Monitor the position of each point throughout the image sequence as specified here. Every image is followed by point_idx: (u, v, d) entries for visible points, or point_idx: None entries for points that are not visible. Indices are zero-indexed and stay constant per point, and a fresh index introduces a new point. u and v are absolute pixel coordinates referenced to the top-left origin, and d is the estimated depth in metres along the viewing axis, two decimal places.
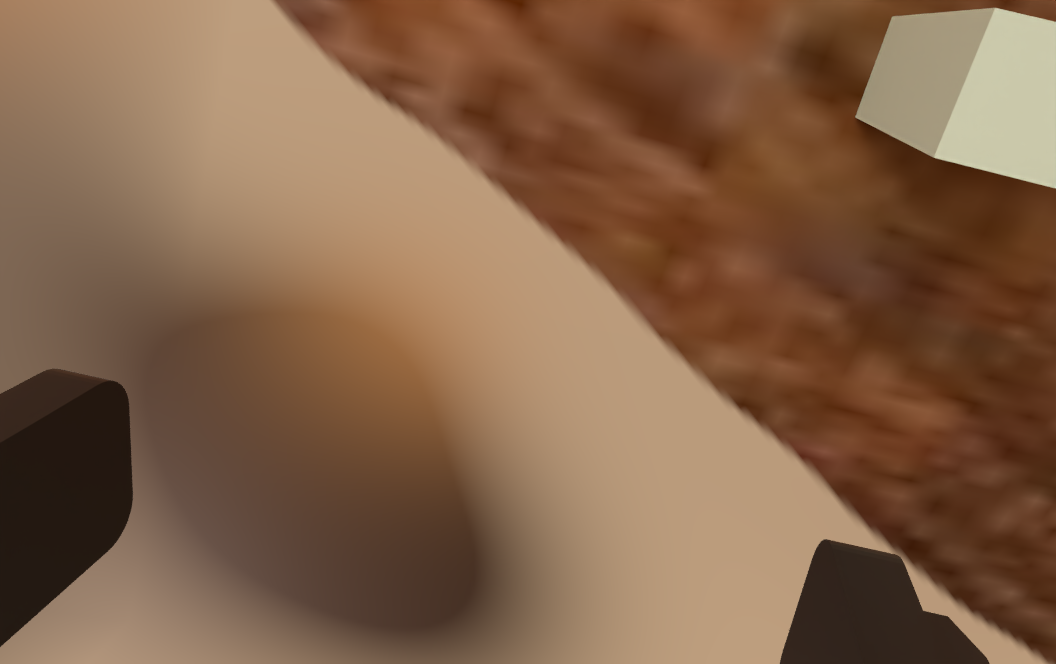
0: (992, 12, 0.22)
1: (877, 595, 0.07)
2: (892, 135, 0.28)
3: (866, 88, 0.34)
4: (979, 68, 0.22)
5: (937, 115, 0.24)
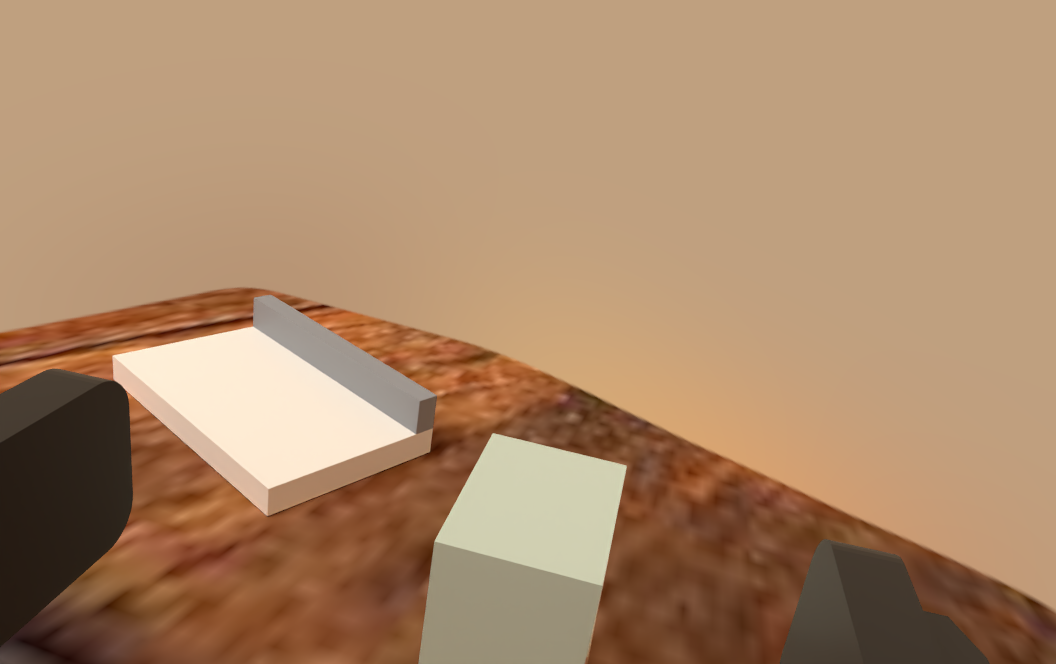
0: (439, 544, 0.19)
1: (877, 595, 0.07)
2: None
3: None
4: (499, 552, 0.19)
5: (548, 613, 0.19)
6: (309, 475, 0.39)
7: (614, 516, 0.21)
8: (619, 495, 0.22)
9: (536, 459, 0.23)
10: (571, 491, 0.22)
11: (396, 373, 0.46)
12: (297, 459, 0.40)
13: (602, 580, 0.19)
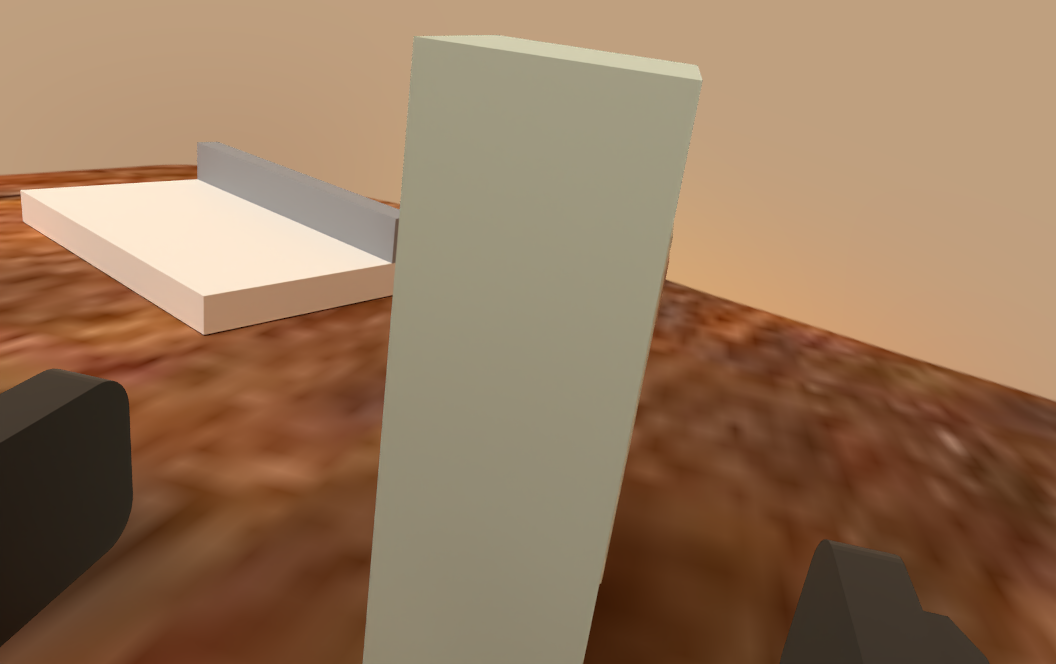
0: (421, 42, 0.11)
1: (877, 595, 0.07)
2: (630, 424, 0.13)
3: None
4: (523, 52, 0.11)
5: (607, 155, 0.12)
6: (257, 288, 0.31)
7: (696, 70, 0.14)
8: (696, 68, 0.15)
9: (565, 46, 0.16)
10: (623, 58, 0.14)
11: (367, 199, 0.38)
12: (243, 275, 0.32)
13: (700, 79, 0.11)
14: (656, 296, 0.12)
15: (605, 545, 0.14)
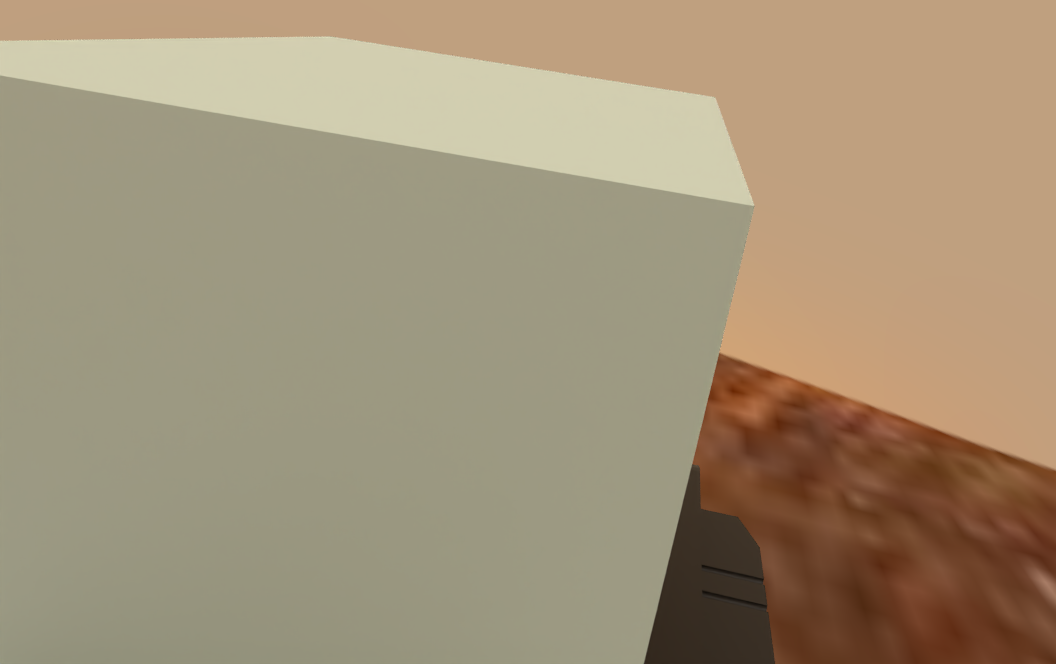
0: None
1: None
2: None
3: None
4: (169, 95, 0.04)
5: (443, 425, 0.04)
6: None
7: (717, 124, 0.06)
8: (716, 111, 0.07)
9: (446, 61, 0.08)
10: (552, 89, 0.06)
11: None
12: None
13: (744, 194, 0.03)
14: None
15: None
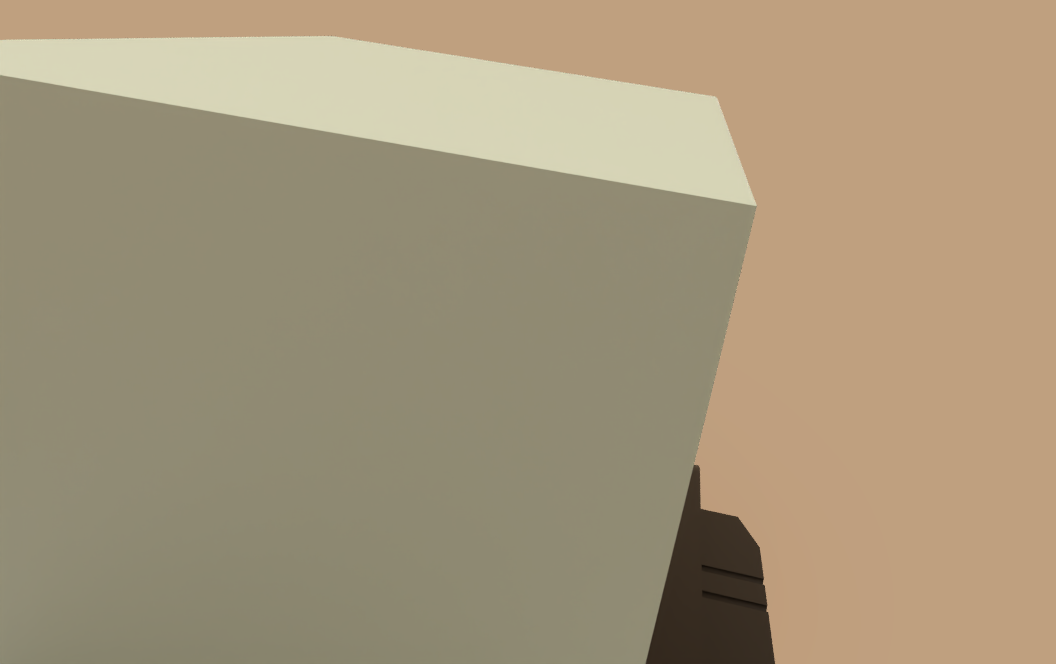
0: None
1: None
2: None
3: None
4: (169, 94, 0.04)
5: (442, 426, 0.04)
6: None
7: (719, 123, 0.06)
8: (717, 110, 0.07)
9: (447, 60, 0.08)
10: (553, 89, 0.06)
11: None
12: None
13: (746, 194, 0.03)
14: None
15: None
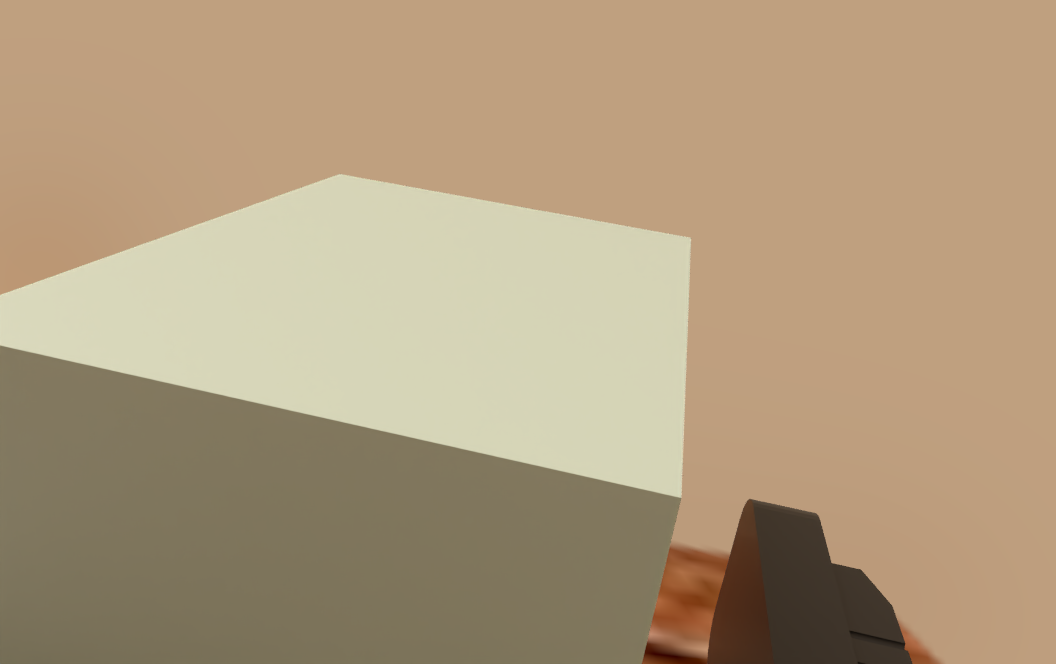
0: None
1: (789, 547, 0.08)
2: None
3: None
4: (205, 368, 0.04)
5: (430, 644, 0.04)
6: None
7: (681, 310, 0.06)
8: (685, 276, 0.07)
9: (444, 211, 0.08)
10: (537, 261, 0.07)
11: None
12: None
13: (676, 476, 0.04)
14: None
15: None
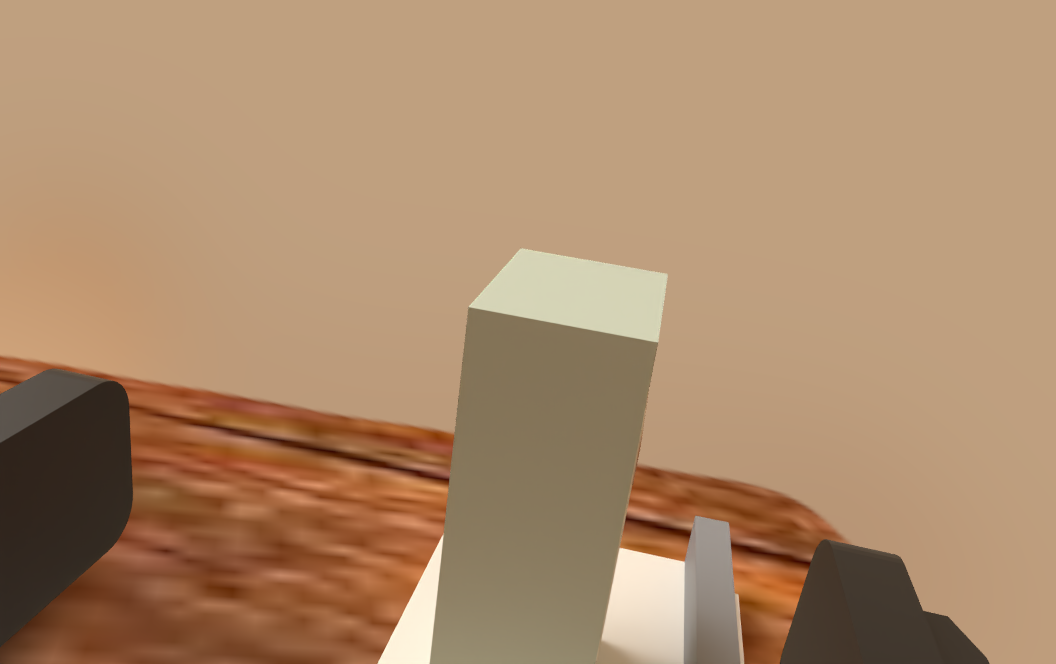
0: (473, 310, 0.17)
1: (876, 595, 0.07)
2: (615, 555, 0.19)
3: None
4: (540, 316, 0.17)
5: (597, 384, 0.17)
6: None
7: (661, 302, 0.19)
8: (663, 290, 0.20)
9: (570, 265, 0.21)
10: (611, 285, 0.20)
11: None
12: None
13: (657, 339, 0.17)
14: (631, 473, 0.18)
15: (599, 636, 0.19)
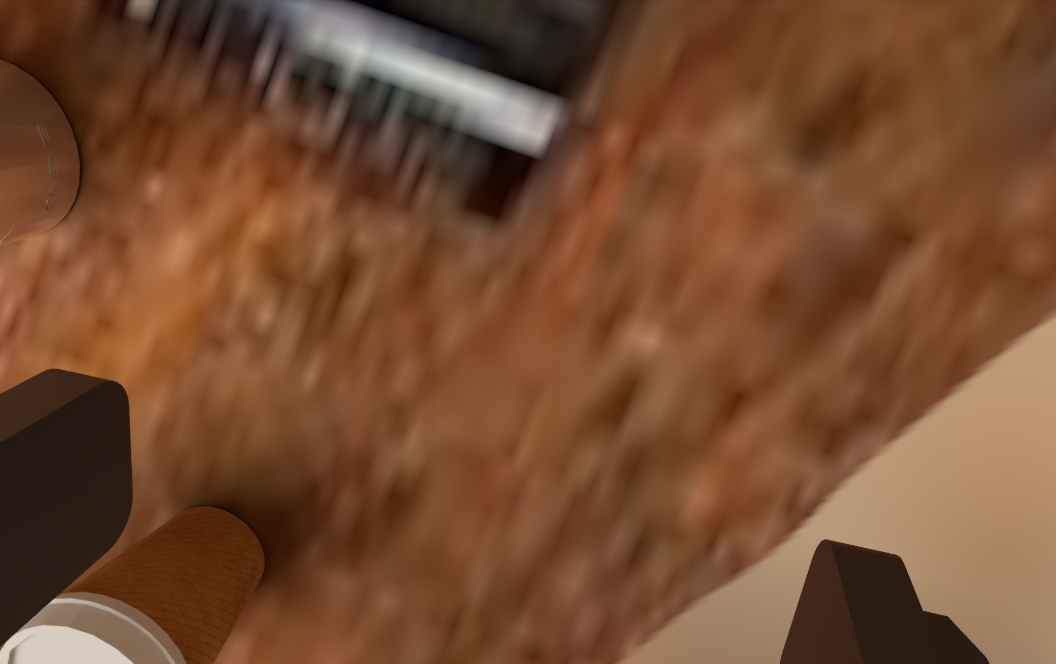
0: None
1: (877, 595, 0.07)
2: None
3: None
4: None
5: None
6: None
7: None
8: None
9: None
10: None
11: None
12: None
13: None
14: None
15: None
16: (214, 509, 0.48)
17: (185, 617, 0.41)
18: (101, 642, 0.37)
